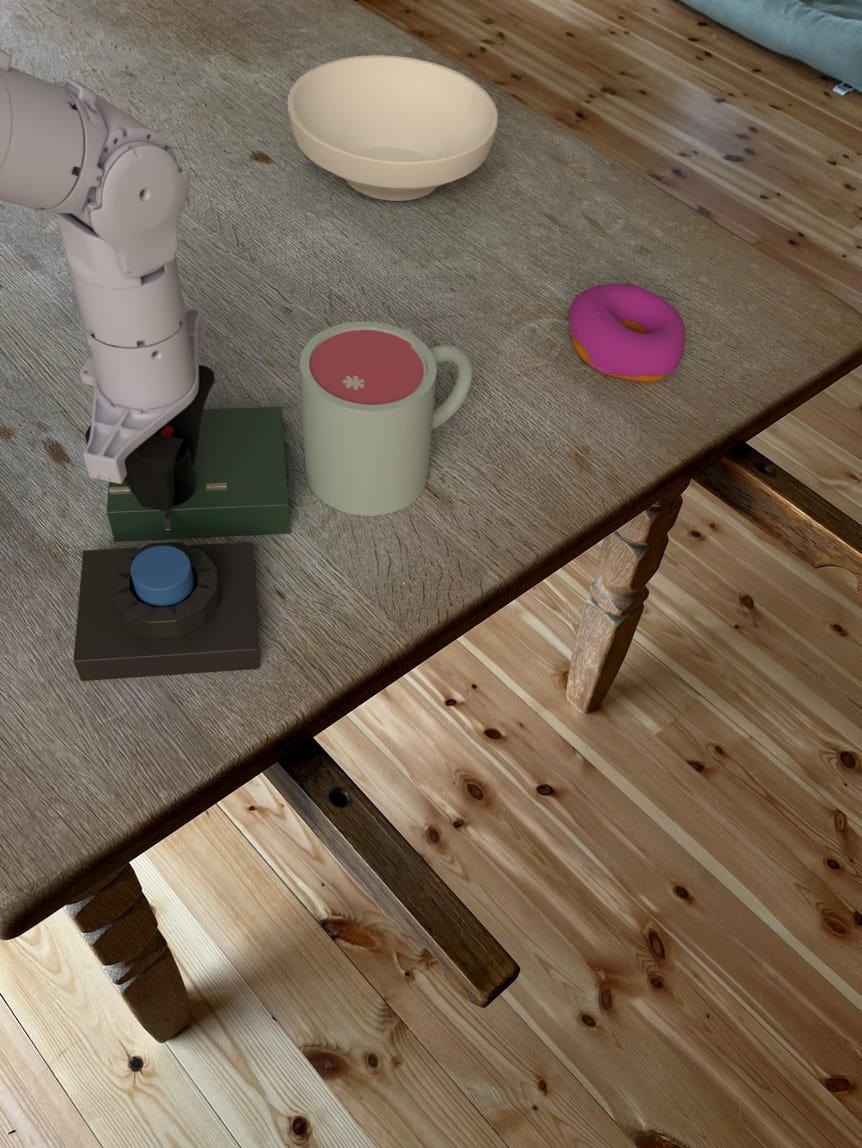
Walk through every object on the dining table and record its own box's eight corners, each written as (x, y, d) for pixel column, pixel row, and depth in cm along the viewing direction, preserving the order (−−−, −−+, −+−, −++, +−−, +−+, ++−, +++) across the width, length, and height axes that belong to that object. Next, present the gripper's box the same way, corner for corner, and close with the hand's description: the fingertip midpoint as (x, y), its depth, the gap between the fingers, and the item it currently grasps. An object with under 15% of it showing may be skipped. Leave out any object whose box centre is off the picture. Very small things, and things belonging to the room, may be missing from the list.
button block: (80, 681, 65) (66, 644, 62) (89, 571, 70) (77, 531, 67) (259, 669, 67) (255, 632, 64) (255, 562, 72) (251, 523, 69)
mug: (347, 533, 75) (347, 428, 67) (282, 454, 79) (274, 346, 71) (499, 465, 80) (516, 361, 72) (431, 394, 84) (440, 288, 76)
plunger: (134, 608, 64) (129, 591, 63) (136, 564, 67) (131, 546, 65) (193, 605, 65) (190, 587, 64) (194, 561, 67) (190, 543, 66)
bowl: (253, 154, 102) (247, 80, 97) (416, 109, 111) (420, 39, 105) (361, 258, 94) (362, 184, 88) (530, 202, 102) (540, 130, 97)
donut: (674, 402, 87) (689, 358, 83) (554, 379, 87) (563, 334, 83) (681, 327, 93) (694, 283, 89) (569, 306, 93) (578, 261, 89)
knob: (184, 511, 70) (176, 468, 67) (133, 500, 70) (122, 456, 67) (203, 475, 72) (195, 431, 69) (153, 464, 73) (143, 420, 69)
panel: (113, 563, 71) (104, 532, 68) (121, 441, 78) (113, 409, 75) (291, 554, 73) (289, 523, 70) (284, 436, 80) (281, 404, 77)
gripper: (116, 234, 65) (151, 402, 76) (10, 383, 56) (66, 548, 67) (227, 256, 64) (245, 422, 75) (137, 409, 56) (173, 571, 67)
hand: (168, 483), depth 71 cm, fingers closed on knob, 3 cm apart
